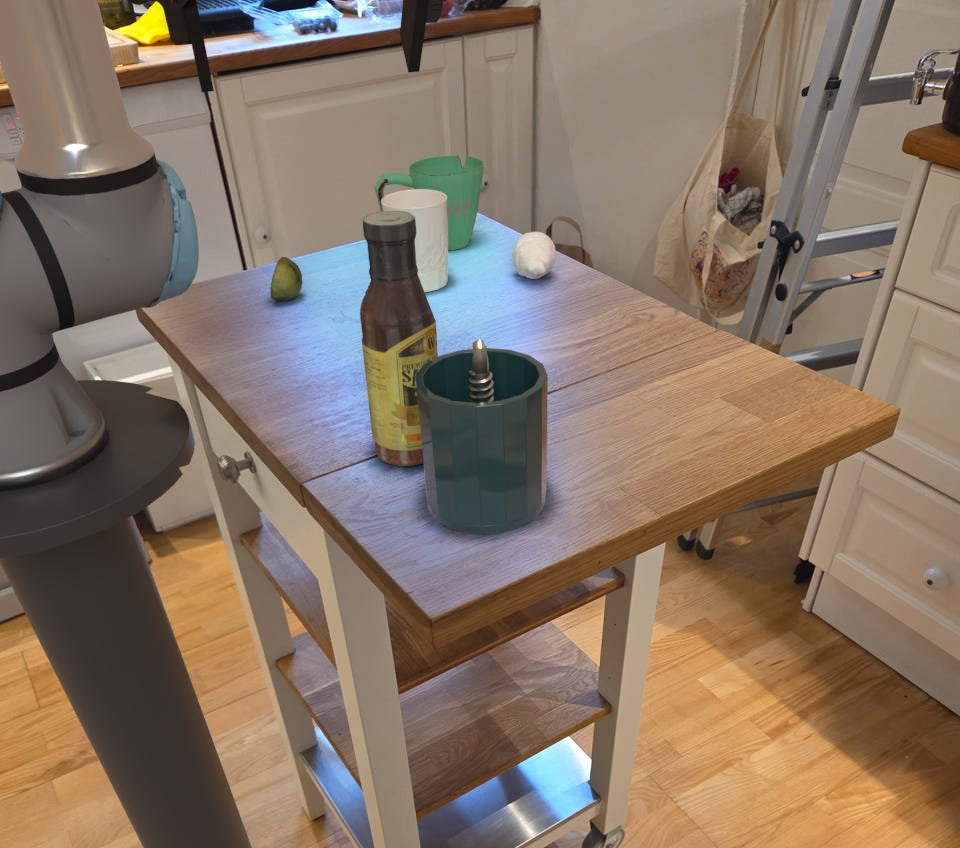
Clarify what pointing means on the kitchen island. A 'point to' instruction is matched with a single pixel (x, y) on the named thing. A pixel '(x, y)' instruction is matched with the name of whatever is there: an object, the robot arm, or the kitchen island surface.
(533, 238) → the garlic bulb
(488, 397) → the screw
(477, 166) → the mug
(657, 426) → the kitchen island surface
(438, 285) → the white cup
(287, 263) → the lime
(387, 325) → the sauce bottle
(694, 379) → the kitchen island surface
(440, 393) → the crock
